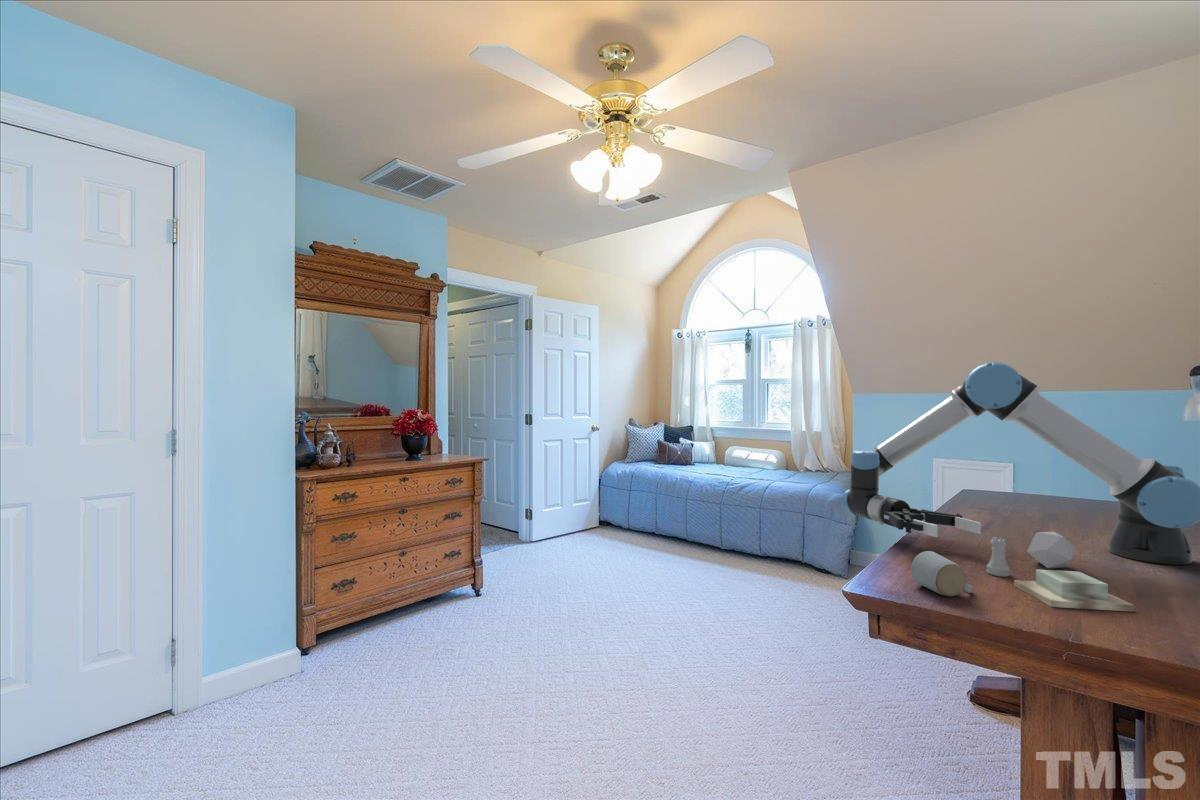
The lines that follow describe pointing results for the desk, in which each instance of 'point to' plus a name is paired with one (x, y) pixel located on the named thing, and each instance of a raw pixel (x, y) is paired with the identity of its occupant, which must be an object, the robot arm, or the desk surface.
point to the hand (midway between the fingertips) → (958, 529)
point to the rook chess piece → (998, 559)
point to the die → (1051, 549)
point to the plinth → (1070, 601)
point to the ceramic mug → (939, 574)
